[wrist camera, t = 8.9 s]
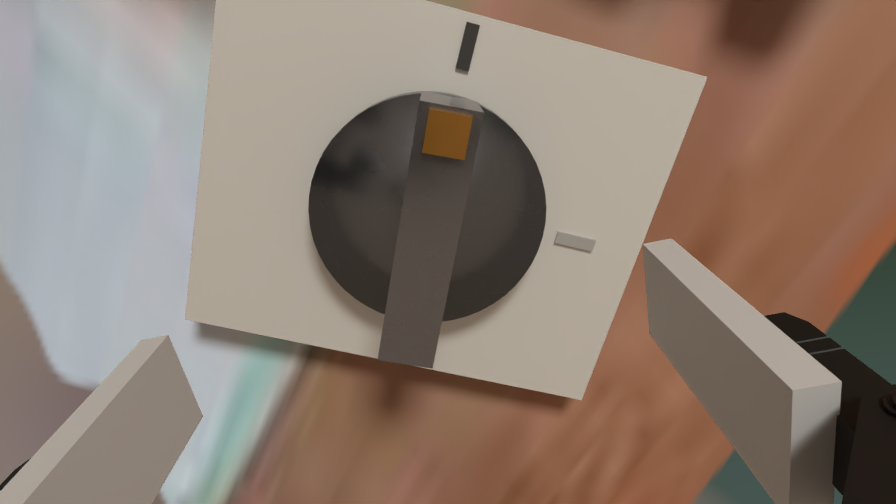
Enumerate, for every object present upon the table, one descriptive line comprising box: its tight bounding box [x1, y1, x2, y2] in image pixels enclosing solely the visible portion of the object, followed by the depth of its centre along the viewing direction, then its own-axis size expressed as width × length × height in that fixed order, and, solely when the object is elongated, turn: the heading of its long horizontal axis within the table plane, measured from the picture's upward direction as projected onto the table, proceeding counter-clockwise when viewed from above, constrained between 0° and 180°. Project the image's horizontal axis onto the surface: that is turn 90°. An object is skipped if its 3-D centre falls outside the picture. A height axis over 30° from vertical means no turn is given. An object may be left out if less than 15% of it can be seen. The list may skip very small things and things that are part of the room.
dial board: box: [185, 0, 707, 400], centre depth 29 cm, size 22×18×2 cm
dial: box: [308, 91, 546, 368], centre depth 25 cm, size 11×11×6 cm
